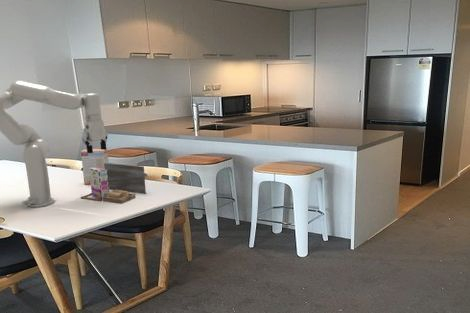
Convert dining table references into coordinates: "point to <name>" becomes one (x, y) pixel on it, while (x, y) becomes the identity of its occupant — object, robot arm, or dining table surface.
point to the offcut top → (117, 194)
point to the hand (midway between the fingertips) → (97, 151)
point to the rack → (123, 181)
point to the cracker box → (92, 162)
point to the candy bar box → (99, 182)
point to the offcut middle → (119, 198)
